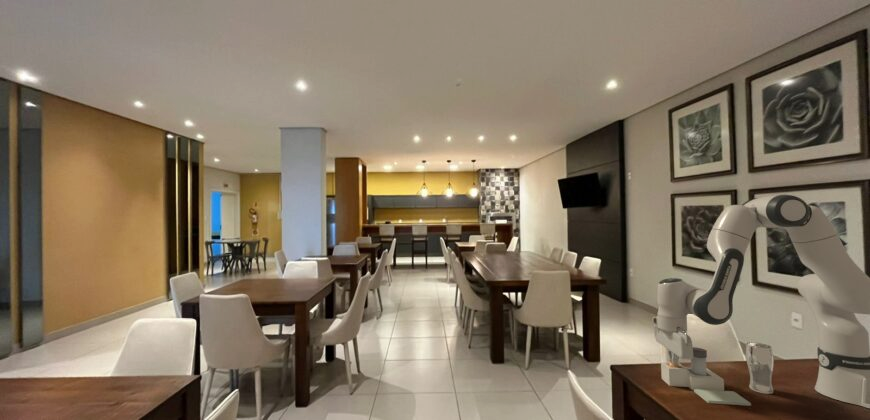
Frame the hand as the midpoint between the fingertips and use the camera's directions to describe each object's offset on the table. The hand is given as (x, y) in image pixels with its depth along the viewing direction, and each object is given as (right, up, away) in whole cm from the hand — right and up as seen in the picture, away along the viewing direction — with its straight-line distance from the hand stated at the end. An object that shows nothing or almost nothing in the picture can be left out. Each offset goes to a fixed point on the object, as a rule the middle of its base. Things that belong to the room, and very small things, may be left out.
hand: (673, 363), depth 128 cm
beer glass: (+25, -7, -6) cm, 27 cm away
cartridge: (+8, -7, -2) cm, 11 cm away
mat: (+7, -6, -12) cm, 15 cm away
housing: (+5, -7, -1) cm, 9 cm away
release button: (0, -4, 0) cm, 4 cm away
